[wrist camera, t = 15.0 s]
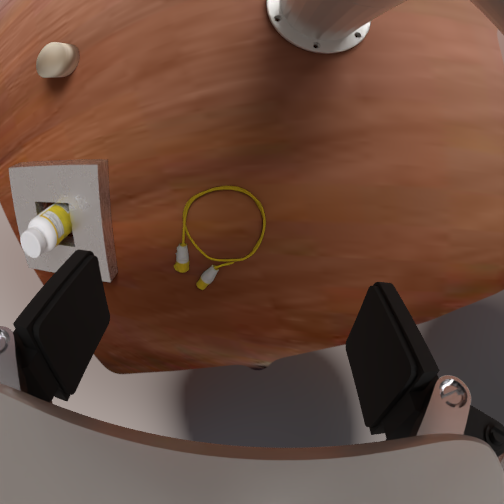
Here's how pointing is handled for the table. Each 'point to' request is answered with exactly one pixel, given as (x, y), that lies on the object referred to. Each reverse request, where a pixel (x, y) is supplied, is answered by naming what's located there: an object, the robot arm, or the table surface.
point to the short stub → (57, 60)
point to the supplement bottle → (47, 230)
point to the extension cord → (183, 256)
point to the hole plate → (80, 207)
